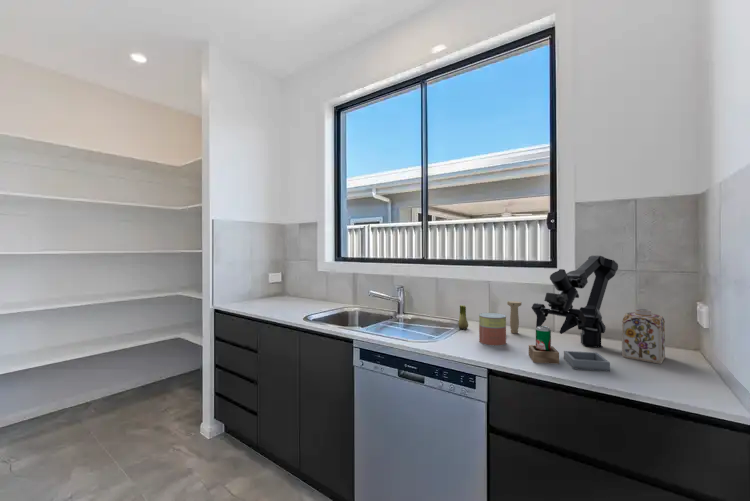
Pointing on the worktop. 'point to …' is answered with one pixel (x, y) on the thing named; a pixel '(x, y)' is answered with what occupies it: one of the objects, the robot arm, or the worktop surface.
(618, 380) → the worktop surface
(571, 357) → the tray
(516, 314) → the handle
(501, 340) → the canned food
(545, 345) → the soda can
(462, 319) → the fennel bulb
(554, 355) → the wooden box
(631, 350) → the decorative jar
